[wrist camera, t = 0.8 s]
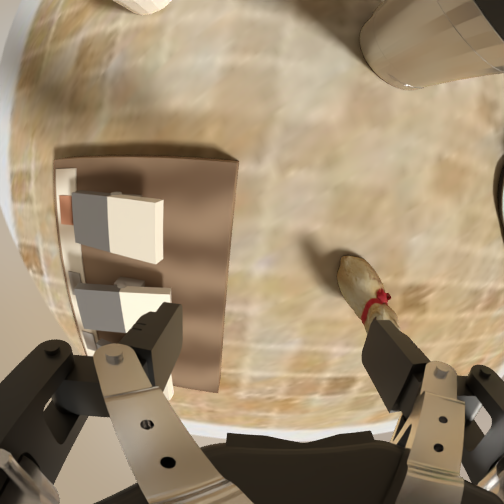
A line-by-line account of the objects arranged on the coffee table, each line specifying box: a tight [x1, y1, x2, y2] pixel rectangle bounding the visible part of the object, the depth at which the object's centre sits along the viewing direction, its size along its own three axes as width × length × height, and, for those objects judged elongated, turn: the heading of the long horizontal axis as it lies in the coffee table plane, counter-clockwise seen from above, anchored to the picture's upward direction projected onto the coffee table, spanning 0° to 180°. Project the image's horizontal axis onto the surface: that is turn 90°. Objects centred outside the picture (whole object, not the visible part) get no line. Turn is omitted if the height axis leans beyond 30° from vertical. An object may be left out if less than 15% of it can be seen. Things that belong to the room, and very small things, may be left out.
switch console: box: [54, 155, 239, 393], centre depth 28 cm, size 29×20×5 cm
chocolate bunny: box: [337, 256, 400, 334], centre depth 25 cm, size 6×8×10 cm
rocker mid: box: [74, 282, 172, 333], centre depth 25 cm, size 5×10×2 cm, turn 83°
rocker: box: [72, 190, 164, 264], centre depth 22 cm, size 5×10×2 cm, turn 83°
